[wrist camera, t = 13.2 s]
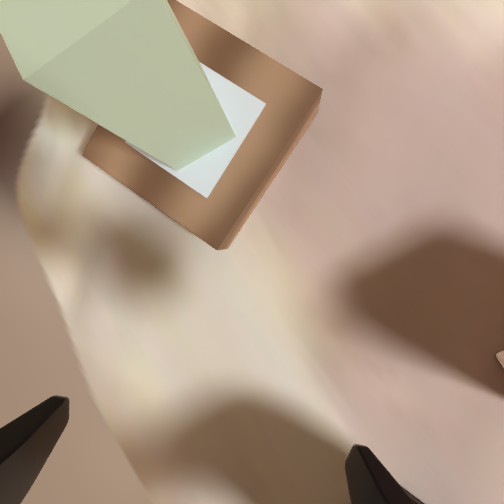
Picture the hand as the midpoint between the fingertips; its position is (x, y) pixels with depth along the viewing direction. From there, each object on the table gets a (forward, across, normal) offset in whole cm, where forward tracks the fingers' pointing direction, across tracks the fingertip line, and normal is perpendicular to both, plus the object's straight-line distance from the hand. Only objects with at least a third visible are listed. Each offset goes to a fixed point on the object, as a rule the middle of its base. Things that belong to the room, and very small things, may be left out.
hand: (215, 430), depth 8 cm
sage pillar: (+13, +5, -10) cm, 17 cm away
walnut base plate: (+16, +4, -9) cm, 19 cm away
